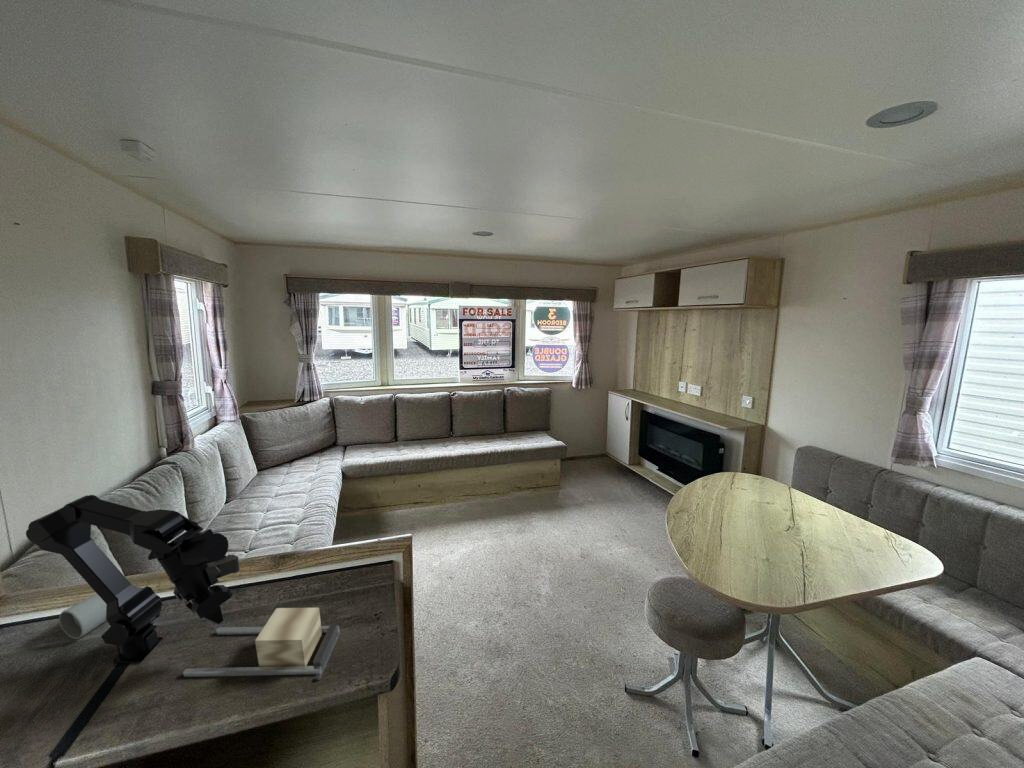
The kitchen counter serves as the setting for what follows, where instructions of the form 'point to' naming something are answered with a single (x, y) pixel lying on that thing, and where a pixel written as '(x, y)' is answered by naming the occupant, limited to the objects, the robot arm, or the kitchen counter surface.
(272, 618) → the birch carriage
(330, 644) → the graphite track
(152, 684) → the kitchen counter surface
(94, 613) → the grey hollow cylinder
